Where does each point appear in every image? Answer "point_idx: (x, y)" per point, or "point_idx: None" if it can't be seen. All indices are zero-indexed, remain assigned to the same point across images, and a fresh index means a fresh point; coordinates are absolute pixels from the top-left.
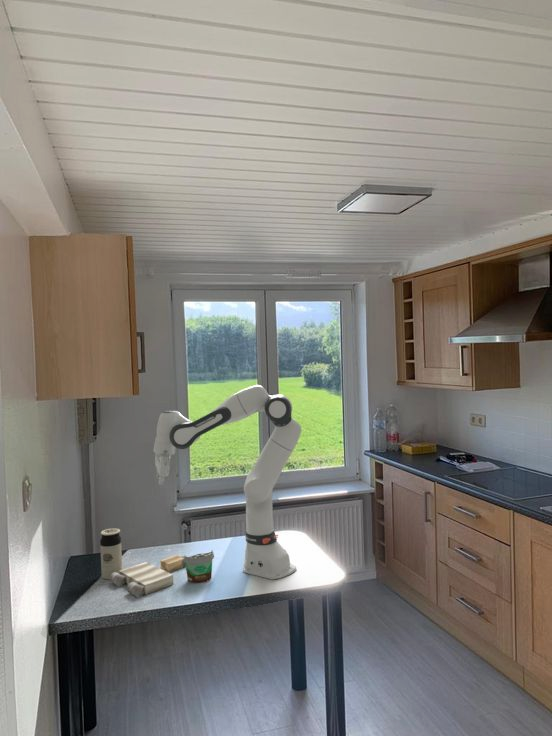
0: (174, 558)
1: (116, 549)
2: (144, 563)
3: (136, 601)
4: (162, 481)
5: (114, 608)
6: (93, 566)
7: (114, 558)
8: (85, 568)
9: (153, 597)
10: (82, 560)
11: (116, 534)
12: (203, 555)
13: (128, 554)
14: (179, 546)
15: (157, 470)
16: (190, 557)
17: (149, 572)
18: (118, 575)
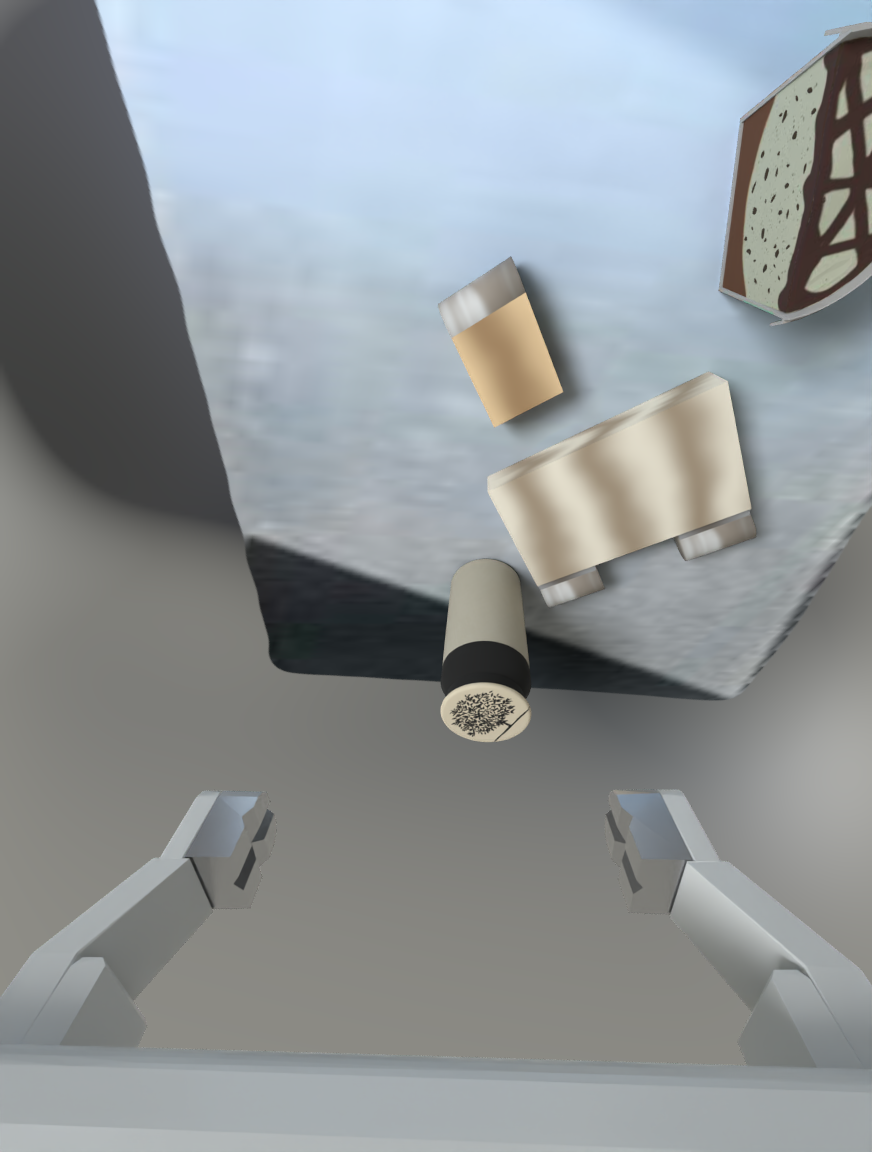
0: (500, 352)
1: (523, 643)
2: (506, 498)
3: (767, 523)
4: (703, 854)
5: (765, 585)
6: (380, 630)
7: (524, 626)
8: (390, 648)
9: (783, 465)
10: (318, 654)
11: (517, 691)
12: (860, 149)
13: (290, 531)
14: (213, 288)
15: (143, 981)
16: (812, 273)
17: (624, 485)
18: (585, 589)
